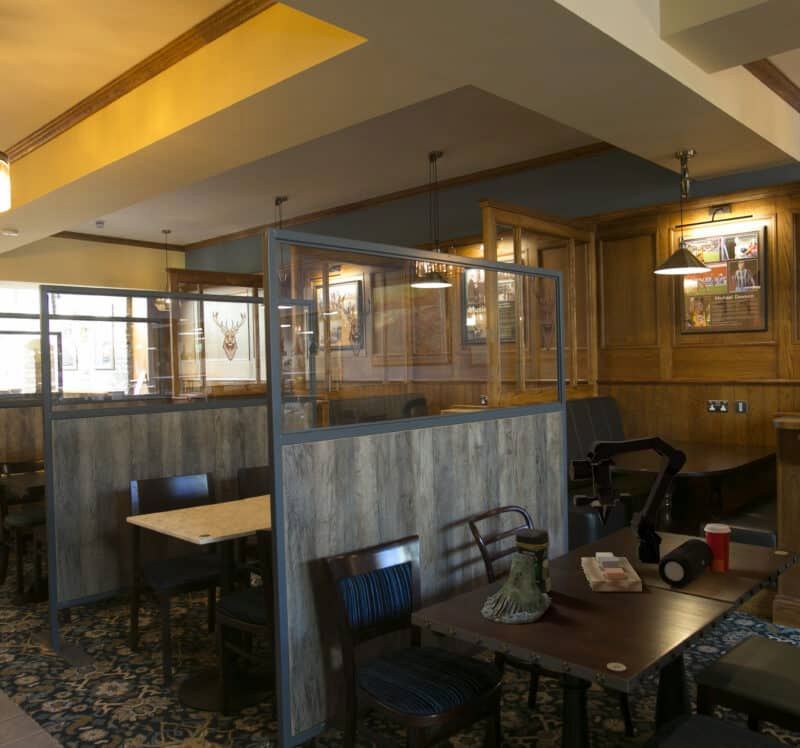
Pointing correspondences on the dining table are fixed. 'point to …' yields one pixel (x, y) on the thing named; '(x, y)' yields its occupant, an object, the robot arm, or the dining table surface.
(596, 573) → the beige flat board
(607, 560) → the grey cube
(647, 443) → the robot arm
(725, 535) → the paper cup
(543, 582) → the coffee jar
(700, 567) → the portable speaker
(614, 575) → the brown cube
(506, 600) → the tree stump
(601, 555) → the beige cube
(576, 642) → the dining table surface
